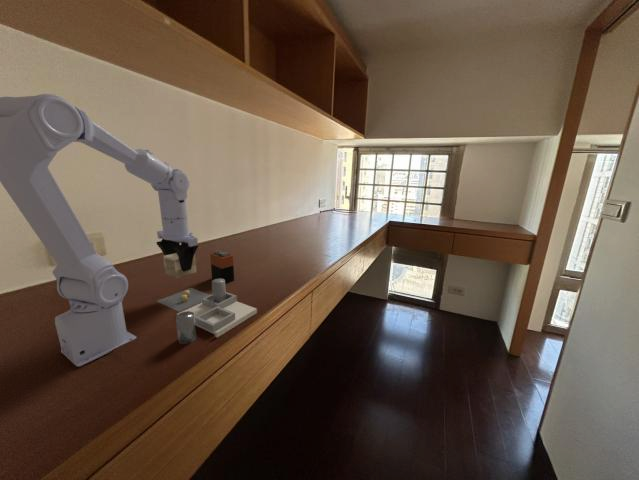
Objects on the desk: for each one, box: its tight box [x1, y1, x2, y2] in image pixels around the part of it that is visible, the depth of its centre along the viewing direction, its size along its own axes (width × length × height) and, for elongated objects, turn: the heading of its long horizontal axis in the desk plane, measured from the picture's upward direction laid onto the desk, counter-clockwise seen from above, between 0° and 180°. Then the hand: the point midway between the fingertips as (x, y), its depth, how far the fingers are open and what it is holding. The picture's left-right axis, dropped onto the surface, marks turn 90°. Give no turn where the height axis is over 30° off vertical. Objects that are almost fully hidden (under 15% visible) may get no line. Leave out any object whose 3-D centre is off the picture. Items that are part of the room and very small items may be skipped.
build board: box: [176, 279, 258, 338], centre depth 61 cm, size 12×14×7 cm
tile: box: [156, 287, 210, 313], centre depth 69 cm, size 10×10×2 cm
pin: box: [175, 311, 197, 345], centre depth 52 cm, size 3×3×6 cm
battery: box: [209, 249, 235, 284], centre depth 81 cm, size 4×7×10 cm, turn 50°
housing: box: [162, 253, 197, 279], centre depth 68 cm, size 5×5×5 cm
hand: (180, 267), depth 68 cm, fingers closed on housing, 5 cm apart
